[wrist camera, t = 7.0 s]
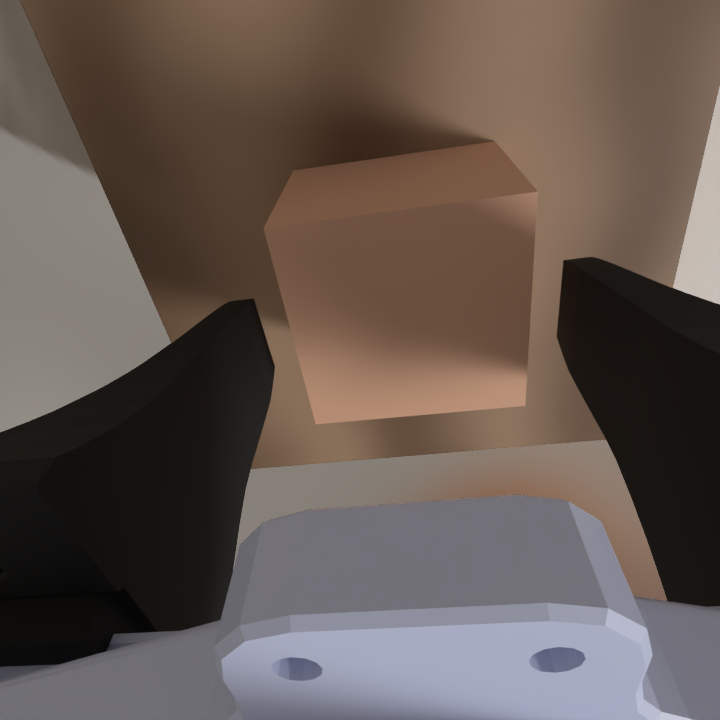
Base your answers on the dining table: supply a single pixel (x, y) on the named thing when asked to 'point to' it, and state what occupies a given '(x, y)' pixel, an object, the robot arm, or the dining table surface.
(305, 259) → the terracotta block
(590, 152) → the walnut base
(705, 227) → the dining table surface
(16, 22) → the dining table surface
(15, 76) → the dining table surface
